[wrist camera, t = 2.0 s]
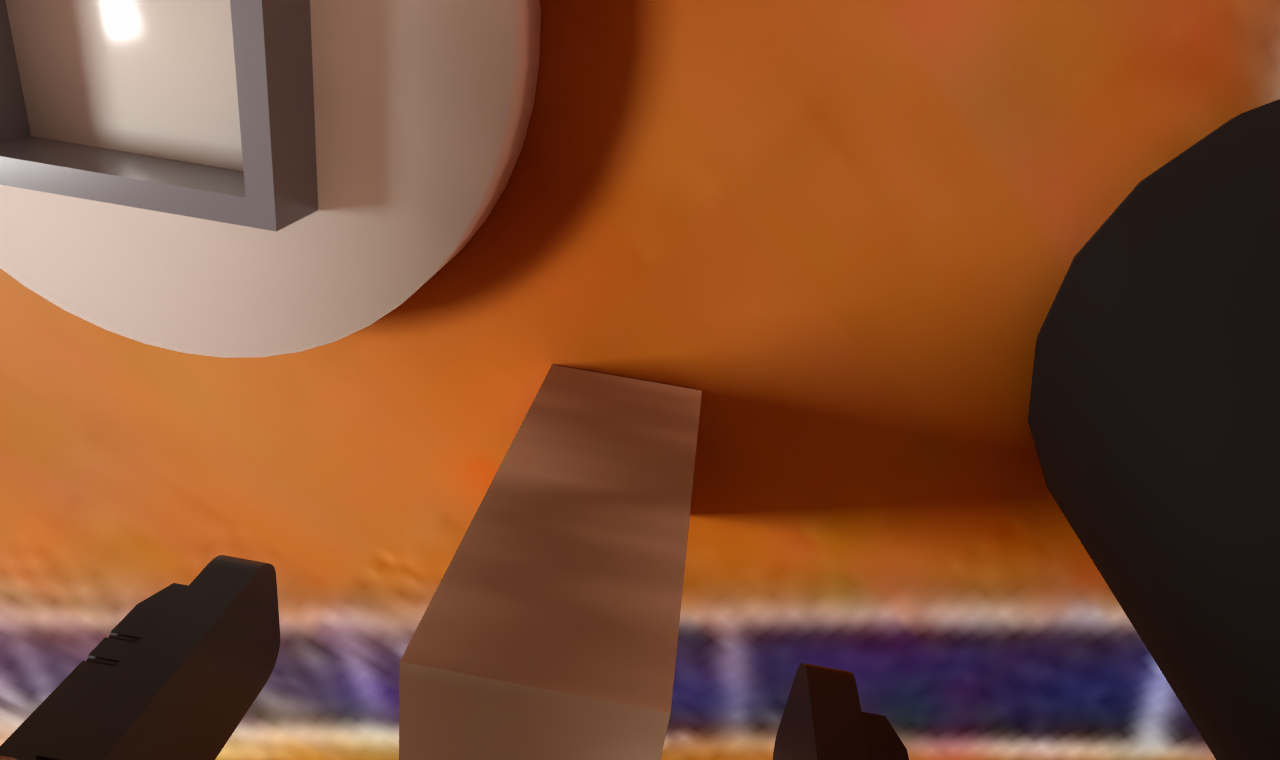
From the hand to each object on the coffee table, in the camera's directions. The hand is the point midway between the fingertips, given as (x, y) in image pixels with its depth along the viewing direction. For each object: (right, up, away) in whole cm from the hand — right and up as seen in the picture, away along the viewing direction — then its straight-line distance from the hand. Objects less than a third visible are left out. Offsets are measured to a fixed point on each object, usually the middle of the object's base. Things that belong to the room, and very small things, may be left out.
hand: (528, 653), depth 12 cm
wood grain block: (+1, +3, +7) cm, 7 cm away
